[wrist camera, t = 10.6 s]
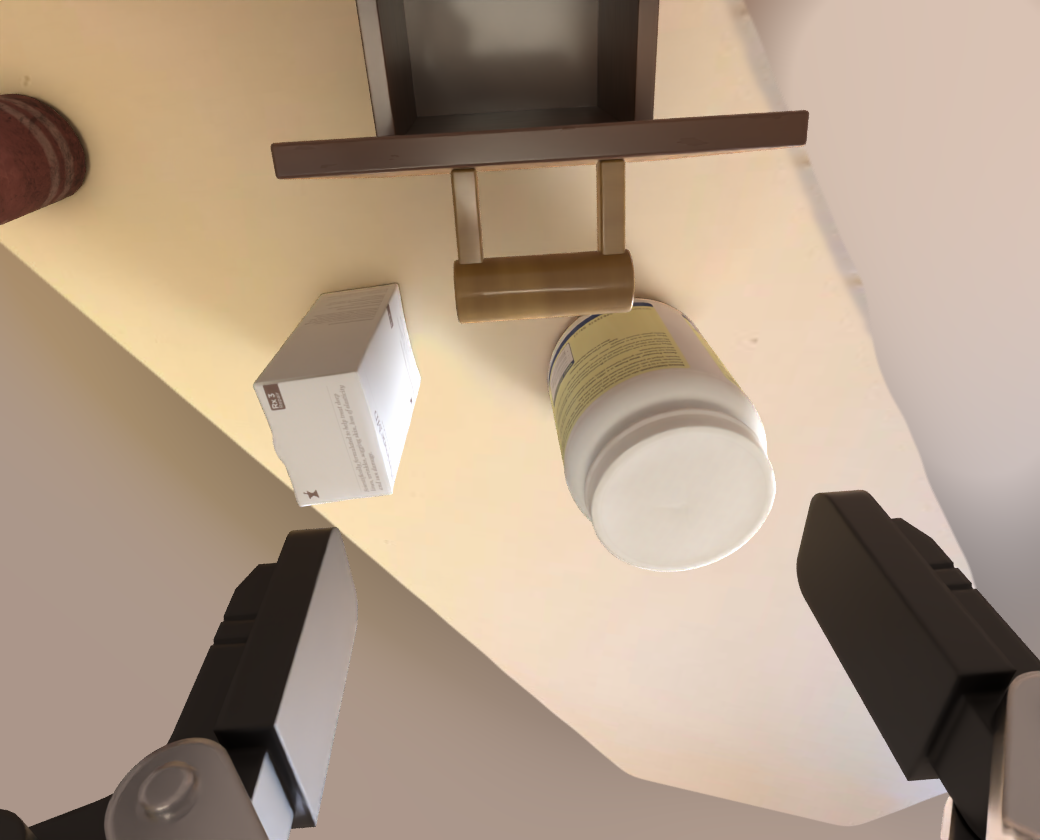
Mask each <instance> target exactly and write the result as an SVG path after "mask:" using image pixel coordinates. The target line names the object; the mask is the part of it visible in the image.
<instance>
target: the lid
mask: <svg viewBox="0 0 1040 840" xmlns="http://www.w3.org/2000/svg"><path fill="white" fill-rule="evenodd" d="M808 118H809V112H808V111H806V110H800V111H784V112H768V113H751V114H735V115H719V116H703V117H687V118H670V119H654V120H638V121H622V122H606V123H589V124H573V125H557V126H541V127H525V128H509V129H492V130H476V131H460V132H444V133H428V134H411V135H395V136H379V137H363V138H347V139H330V140H314V141H298V142H282V143H273V144H271V152H272V158H273V163H274V169H275V174H276V177H277V178H278V179H336V178H388V177H404V176H419V175H435V174H451V184H452V195H453V205H454V216H455V227H456V238H457V249H458V260H456V261H454V289H455V300H456V309H457V316H458V320H459V323H461V324H462V323H477V322H491V321H506V320H521V319H536V318H551V317H566V316H581V315H595V314H610V313H625V312H630V311H631V309H632V306H633V301H634V290H635V280H634V267H633V261H632V257H631V254H630V252H629V250H627V249H625V163H626V162H642V161H656V160H666V159H677V158H687V157H698V156H708V155H719V154H729V153H740V152H750V151H761V150H771V149H782V148H792V147H802V146H804V145H805V144H806V140H807V129H808ZM594 164H596V178H597V243H598V251H589V252H573V253H558V254H543V255H528V256H512V257H497V258H484V255H483V242H482V229H481V216H480V203H479V190H478V177H477V172H483V171H499V170H515V169H531V168H546V167H562V166H578V165H594Z"/></svg>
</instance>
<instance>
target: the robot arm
mask: <svg viewBox="0 0 1040 840" xmlns="http://www.w3.org/2000/svg"><path fill="white" fill-rule="evenodd" d="M953 564H954V563H953V562H952V561H951V559H950V558H949V557H948V556H947V555H946V554H945V553H944V552H943V550H942V549H941V548H940V547H939V546H938V545H937V544H936V542H935V541H934V540H933V539H932V538H931V537H929V536H928V535H926V534H924V533H923V532H921V531H920V530H918V529H917V528H915V527H914V526H912V525H911V524H909V523H908V522H906V521H905V520H903V519H902V518H894V519H891V518H890V517H889V516H888V515H887V513H886V512H885V511H884V510H883V509H882V507H881V506H880V505H879V504H878V503H877V501H876V500H875V499H874V498H873V497H872V496H871V495H870V494H869V493H868V492H867V491H864V490H853V491H840V492H826V493H817V494H816V495H814V497H813V498H812V500H811V503H810V507H809V511H808V515H807V519H806V523H805V528H804V532H803V536H802V540H801V545H800V549H799V553H798V557H797V577H798V582H799V586H800V589H801V592H802V594H803V596H804V598H805V600H806V602H807V604H808V605H809V607H810V609H811V611H812V613H813V614H814V616H815V618H816V620H817V621H818V623H819V625H820V627H821V628H822V630H823V632H824V634H825V635H826V637H827V639H828V641H829V643H830V644H831V646H832V648H833V650H834V651H835V653H836V655H837V657H838V658H839V660H840V662H841V664H842V665H843V667H844V669H845V671H846V673H847V674H848V676H849V678H850V680H851V681H852V683H853V685H854V687H855V688H856V690H857V692H858V694H859V695H860V697H861V699H862V701H863V703H864V704H865V706H866V708H867V710H868V711H869V713H870V715H871V717H872V718H873V720H874V722H875V724H876V725H877V727H878V729H879V731H880V733H881V734H882V736H883V738H884V740H885V741H886V743H887V745H888V747H889V748H890V750H891V752H892V754H893V756H894V757H895V759H896V761H897V763H898V764H899V766H900V768H901V770H902V771H903V773H904V775H905V777H906V778H907V780H908V781H914V780H926V779H938V778H939V779H940V780H941V782H942V783H943V785H944V787H945V788H946V790H947V792H948V793H949V797H948V799H947V801H946V803H945V806H944V812H943V820H942V828H941V837H940V840H1040V660H1039V659H1038V658H1037V657H1036V656H1035V655H1034V654H1033V652H1031V650H1030V649H1029V648H1028V647H1027V646H1026V645H1025V643H1024V642H1023V641H1022V640H1021V639H1020V638H1019V637H1018V636H1017V634H1016V633H1015V632H1014V631H1013V630H1012V629H1011V628H1010V626H1009V625H1008V624H1007V623H1006V622H1005V621H1004V620H1003V619H1002V617H1001V616H1000V615H999V614H998V613H997V612H996V611H995V609H994V608H993V607H992V606H991V605H990V604H989V603H988V601H986V599H985V598H984V597H983V596H982V595H981V594H980V592H979V591H978V590H977V589H973V588H972V583H971V582H970V581H969V580H968V579H967V578H966V576H965V575H964V574H963V573H962V572H961V571H960V570H959V569H958V568H954V565H953ZM357 620H358V603H357V594H356V589H355V586H354V581H353V578H352V574H351V570H350V566H349V562H348V558H347V554H346V551H345V547H344V543H343V539H342V536H341V533H340V531H339V529H338V528H336V527H332V528H319V529H306V530H293V531H291V532H289V534H288V536H287V538H286V540H285V543H284V545H283V548H282V551H281V553H280V556H279V558H278V561H277V563H271V564H259V565H258V566H257V567H256V568H255V569H254V570H253V571H252V572H251V573H250V574H249V576H247V577H246V578H245V580H244V581H243V582H242V583H241V584H240V585H239V586H238V587H237V588H236V589H235V592H234V594H233V596H232V598H231V601H230V603H229V605H228V607H227V610H226V612H225V614H224V621H223V622H221V624H220V626H219V628H218V630H217V633H216V635H215V637H214V644H213V645H212V646H211V647H210V649H209V651H208V653H207V656H206V658H205V660H204V663H203V665H202V667H201V669H200V672H199V674H198V676H197V679H196V681H195V683H194V686H193V688H192V690H191V692H190V695H189V697H188V699H187V702H186V704H185V706H184V709H183V711H182V713H181V715H180V718H179V720H178V722H177V724H176V727H175V729H174V731H173V734H172V736H171V738H170V740H169V741H168V743H167V745H165V746H163V747H161V748H159V749H157V750H156V751H154V752H152V753H151V754H149V755H148V756H146V757H145V758H144V759H143V760H141V761H140V762H139V763H138V764H137V765H135V766H134V767H133V769H132V770H130V772H129V773H128V774H127V775H126V776H125V777H124V778H123V780H122V781H121V782H120V784H119V785H118V787H117V788H116V790H115V792H114V793H113V794H111V795H109V796H107V797H105V798H103V799H101V800H98V801H96V802H94V803H91V804H88V805H86V806H83V807H80V808H78V809H75V810H72V811H70V812H67V813H65V814H62V815H59V816H57V817H54V818H51V819H49V820H46V821H44V822H41V823H38V824H36V825H33V826H31V827H27V826H26V824H25V823H24V822H23V821H22V820H21V819H20V818H19V817H18V816H17V815H16V814H15V813H12V812H10V811H8V810H2V809H0V840H288V838H289V834H290V830H291V829H293V828H305V827H316V823H317V818H318V813H319V808H320V804H321V799H322V794H323V789H324V784H325V779H326V775H327V770H328V765H329V760H330V755H331V750H332V745H333V741H334V736H335V731H336V726H337V721H338V716H339V712H340V707H341V702H342V697H343V692H344V687H345V682H346V677H347V673H348V668H349V663H350V658H351V653H352V648H353V643H354V639H355V634H356V629H357Z"/></svg>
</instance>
